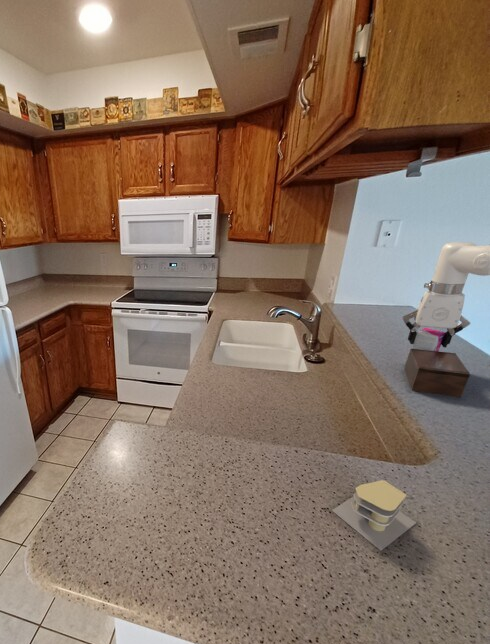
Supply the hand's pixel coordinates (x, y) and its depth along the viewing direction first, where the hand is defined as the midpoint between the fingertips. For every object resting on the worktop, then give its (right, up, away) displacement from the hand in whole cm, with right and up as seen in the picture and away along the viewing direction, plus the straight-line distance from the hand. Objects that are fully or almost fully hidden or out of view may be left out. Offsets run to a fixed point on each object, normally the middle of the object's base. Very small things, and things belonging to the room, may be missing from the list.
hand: (427, 343), depth 103 cm
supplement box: (0, -7, +3) cm, 8 cm away
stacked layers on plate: (-46, -34, -45) cm, 73 cm away
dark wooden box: (-4, -12, -6) cm, 14 cm away
